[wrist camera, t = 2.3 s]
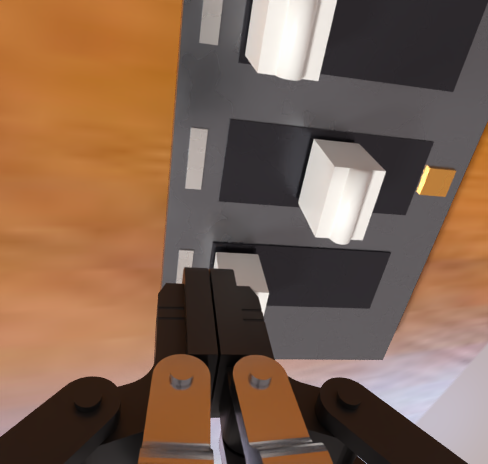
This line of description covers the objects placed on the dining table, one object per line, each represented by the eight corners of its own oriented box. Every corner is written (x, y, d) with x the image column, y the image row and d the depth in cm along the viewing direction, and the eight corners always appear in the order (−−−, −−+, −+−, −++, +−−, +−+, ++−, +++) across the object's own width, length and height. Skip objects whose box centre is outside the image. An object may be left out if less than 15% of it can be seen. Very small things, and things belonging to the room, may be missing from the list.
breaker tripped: (313, 139, 22) (338, 171, 19) (358, 143, 23) (390, 176, 19) (298, 203, 24) (318, 243, 21) (340, 206, 24) (366, 246, 21)
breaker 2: (258, -40, 18) (278, -38, 14) (316, -30, 18) (347, -26, 15) (244, 55, 20) (259, 76, 16) (297, 62, 20) (322, 84, 17)
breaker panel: (198, -217, 17) (202, -238, 15) (561, -124, 20) (601, -132, 18) (157, 336, 31) (156, 360, 29) (372, 339, 34) (383, 361, 32)
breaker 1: (216, 252, 25) (222, 297, 22) (258, 254, 25) (271, 299, 22) (208, 302, 27) (213, 351, 23) (248, 303, 27) (258, 351, 24)
